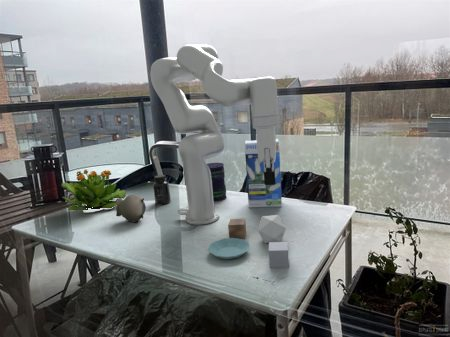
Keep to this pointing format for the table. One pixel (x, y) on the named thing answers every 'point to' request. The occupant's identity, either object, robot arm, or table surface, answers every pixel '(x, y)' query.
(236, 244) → the saucer
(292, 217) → the table surface
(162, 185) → the supplement bottle
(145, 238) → the table surface
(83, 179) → the potted flower
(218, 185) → the storage jar
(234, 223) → the walnut block
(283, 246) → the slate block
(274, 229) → the die
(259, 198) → the string lights box
